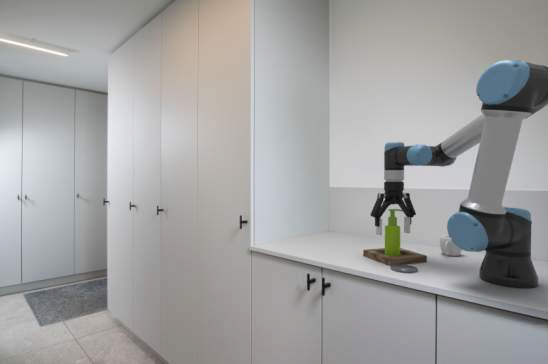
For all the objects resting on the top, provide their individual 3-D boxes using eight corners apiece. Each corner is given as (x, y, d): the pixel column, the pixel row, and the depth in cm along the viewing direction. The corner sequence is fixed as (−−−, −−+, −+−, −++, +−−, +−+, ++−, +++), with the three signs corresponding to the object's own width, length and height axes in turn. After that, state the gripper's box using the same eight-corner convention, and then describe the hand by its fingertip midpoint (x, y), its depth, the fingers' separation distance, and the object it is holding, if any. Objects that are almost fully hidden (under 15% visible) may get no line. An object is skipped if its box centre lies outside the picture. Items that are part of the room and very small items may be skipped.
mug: (443, 251, 144) (443, 233, 144) (465, 254, 139) (465, 236, 139) (434, 256, 136) (434, 237, 136) (457, 259, 130) (457, 240, 130)
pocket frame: (426, 262, 126) (426, 255, 126) (390, 265, 121) (390, 259, 121) (396, 252, 142) (396, 247, 142) (363, 255, 137) (363, 249, 137)
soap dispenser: (404, 261, 128) (404, 209, 128) (385, 260, 129) (385, 209, 129) (401, 257, 134) (401, 208, 134) (383, 256, 135) (383, 208, 135)
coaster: (423, 271, 113) (423, 269, 113) (402, 274, 110) (402, 272, 110) (405, 265, 122) (405, 263, 122) (385, 267, 119) (385, 265, 119)
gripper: (412, 180, 139) (411, 230, 139) (361, 180, 131) (361, 233, 131) (425, 181, 132) (425, 233, 132) (373, 181, 124) (372, 237, 124)
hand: (393, 233), depth 132 cm, fingers open, 13 cm apart
